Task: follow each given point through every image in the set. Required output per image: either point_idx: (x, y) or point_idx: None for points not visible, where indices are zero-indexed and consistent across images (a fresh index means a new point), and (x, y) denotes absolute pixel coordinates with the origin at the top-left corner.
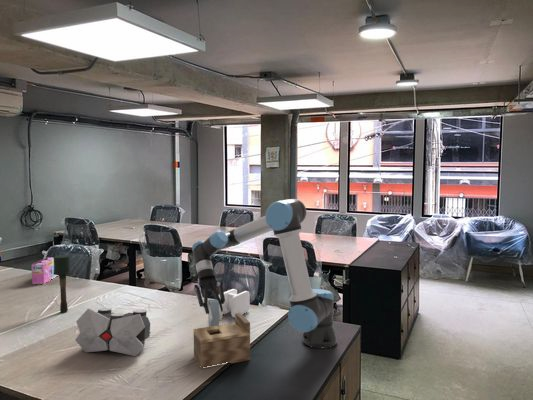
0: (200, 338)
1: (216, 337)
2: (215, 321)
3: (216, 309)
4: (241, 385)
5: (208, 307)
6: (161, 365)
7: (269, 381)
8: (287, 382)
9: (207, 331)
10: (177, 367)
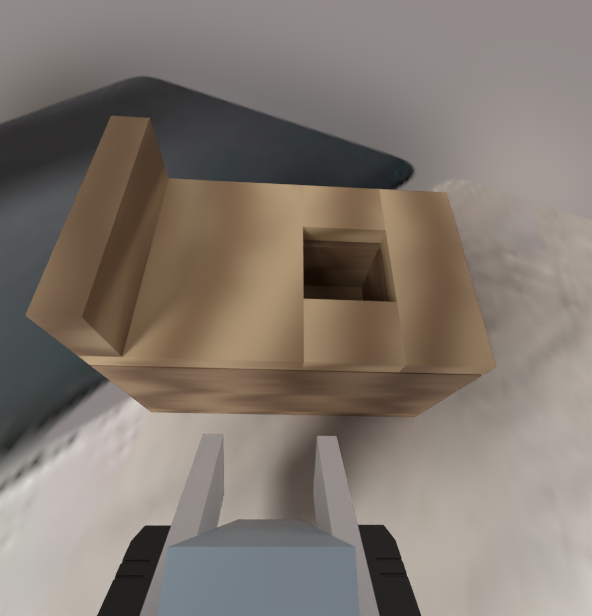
0: (448, 214)
1: (354, 191)
2: (259, 525)
3: (236, 533)
4: (289, 159)
5: (369, 575)
6: (567, 386)
7: (202, 146)
8: (158, 126)
9: (387, 305)
10: (491, 339)
